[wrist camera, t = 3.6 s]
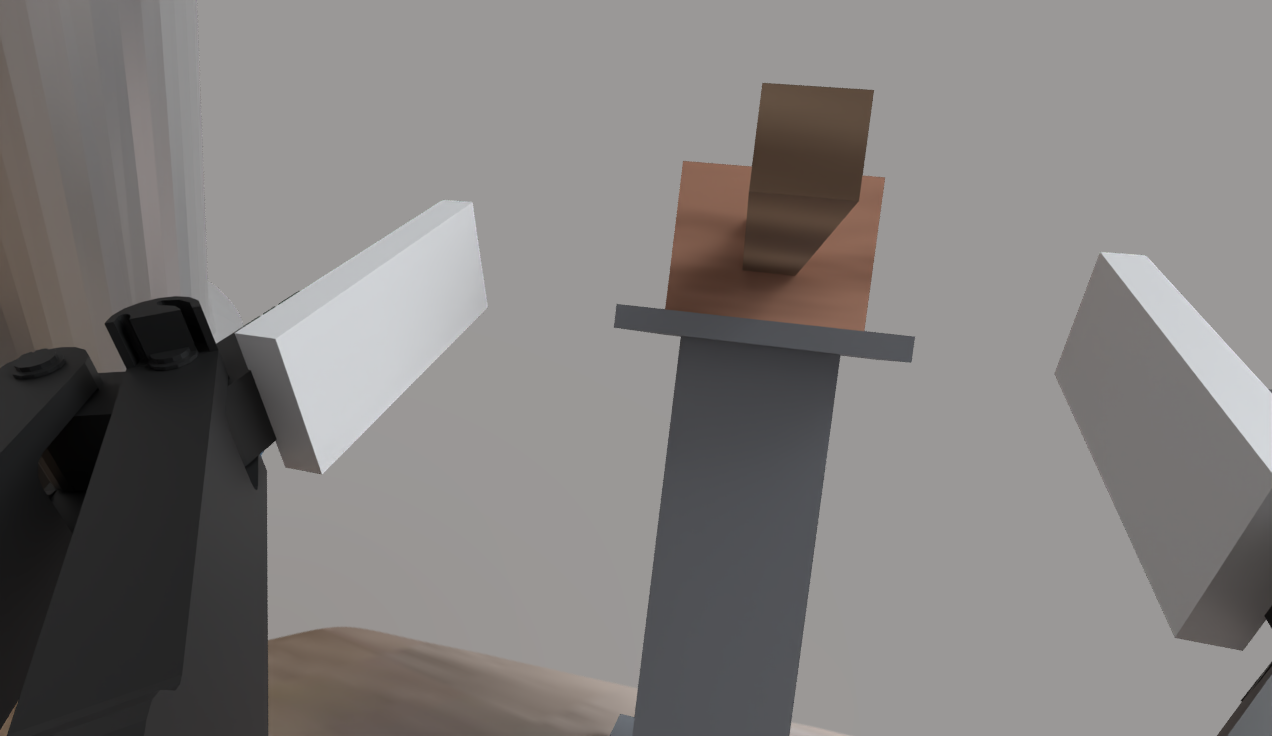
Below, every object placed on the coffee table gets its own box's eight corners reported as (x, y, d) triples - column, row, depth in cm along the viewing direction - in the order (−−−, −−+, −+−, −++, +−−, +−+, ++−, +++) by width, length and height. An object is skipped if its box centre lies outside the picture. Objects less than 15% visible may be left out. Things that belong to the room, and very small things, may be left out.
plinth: (826, 974, 27) (914, 336, 26) (548, 886, 30) (616, 304, 29) (817, 788, 39) (878, 341, 38) (617, 737, 42) (668, 318, 41)
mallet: (1003, 323, 14) (1051, -12, 14) (593, 278, 16) (628, -30, 15) (839, 336, 37) (856, 209, 37) (677, 318, 38) (692, 194, 38)
